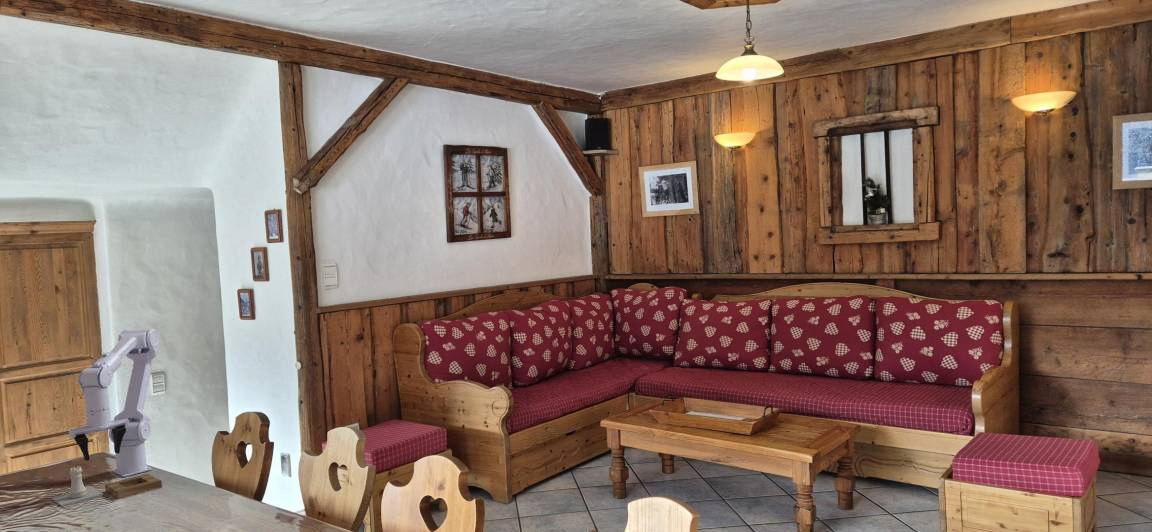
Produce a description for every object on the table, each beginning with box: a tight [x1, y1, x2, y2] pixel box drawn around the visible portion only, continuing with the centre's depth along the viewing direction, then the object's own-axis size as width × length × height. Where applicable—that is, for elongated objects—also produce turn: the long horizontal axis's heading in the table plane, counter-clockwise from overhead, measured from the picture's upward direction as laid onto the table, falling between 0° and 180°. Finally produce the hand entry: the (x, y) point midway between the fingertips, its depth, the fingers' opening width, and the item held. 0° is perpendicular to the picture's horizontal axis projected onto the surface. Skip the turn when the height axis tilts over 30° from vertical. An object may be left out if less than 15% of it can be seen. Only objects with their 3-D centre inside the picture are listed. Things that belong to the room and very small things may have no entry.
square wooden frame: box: [104, 473, 163, 500], centre depth 214 cm, size 11×11×2 cm
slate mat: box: [50, 486, 104, 508], centre depth 210 cm, size 10×10×1 cm
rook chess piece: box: [67, 465, 87, 499], centre depth 209 cm, size 4×4×8 cm
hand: (102, 456), depth 216 cm, fingers open, 7 cm apart
